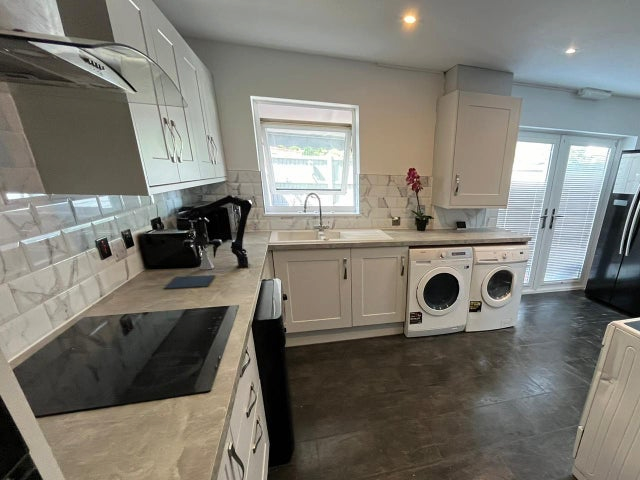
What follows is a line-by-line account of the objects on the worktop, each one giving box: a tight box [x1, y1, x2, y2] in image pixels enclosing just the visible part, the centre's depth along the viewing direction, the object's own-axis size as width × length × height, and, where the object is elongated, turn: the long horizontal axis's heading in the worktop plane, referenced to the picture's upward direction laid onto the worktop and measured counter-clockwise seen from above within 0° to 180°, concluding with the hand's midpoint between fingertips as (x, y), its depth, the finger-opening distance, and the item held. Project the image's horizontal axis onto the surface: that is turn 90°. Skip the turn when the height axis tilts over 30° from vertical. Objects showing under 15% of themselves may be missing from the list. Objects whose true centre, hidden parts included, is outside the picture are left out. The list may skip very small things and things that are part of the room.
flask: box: [199, 250, 215, 270], centre depth 185 cm, size 7×7×10 cm
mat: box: [164, 274, 216, 290], centre depth 163 cm, size 18×18×1 cm
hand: (205, 257), depth 184 cm, fingers open, 9 cm apart
